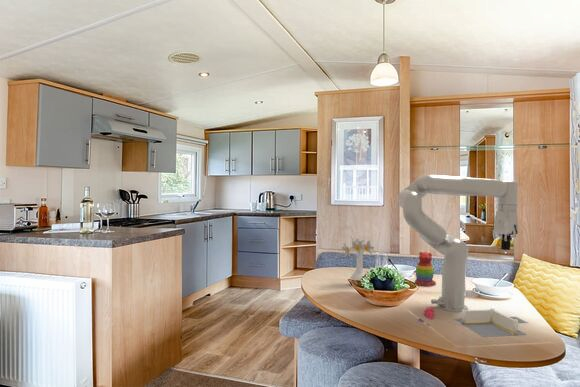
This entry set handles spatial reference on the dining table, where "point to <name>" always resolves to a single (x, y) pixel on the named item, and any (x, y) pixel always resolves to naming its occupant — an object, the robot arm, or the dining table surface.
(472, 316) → the fence base
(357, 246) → the flower vase
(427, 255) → the stacking bear
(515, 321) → the fence gate
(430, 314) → the toy pieces
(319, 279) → the dining table surface
